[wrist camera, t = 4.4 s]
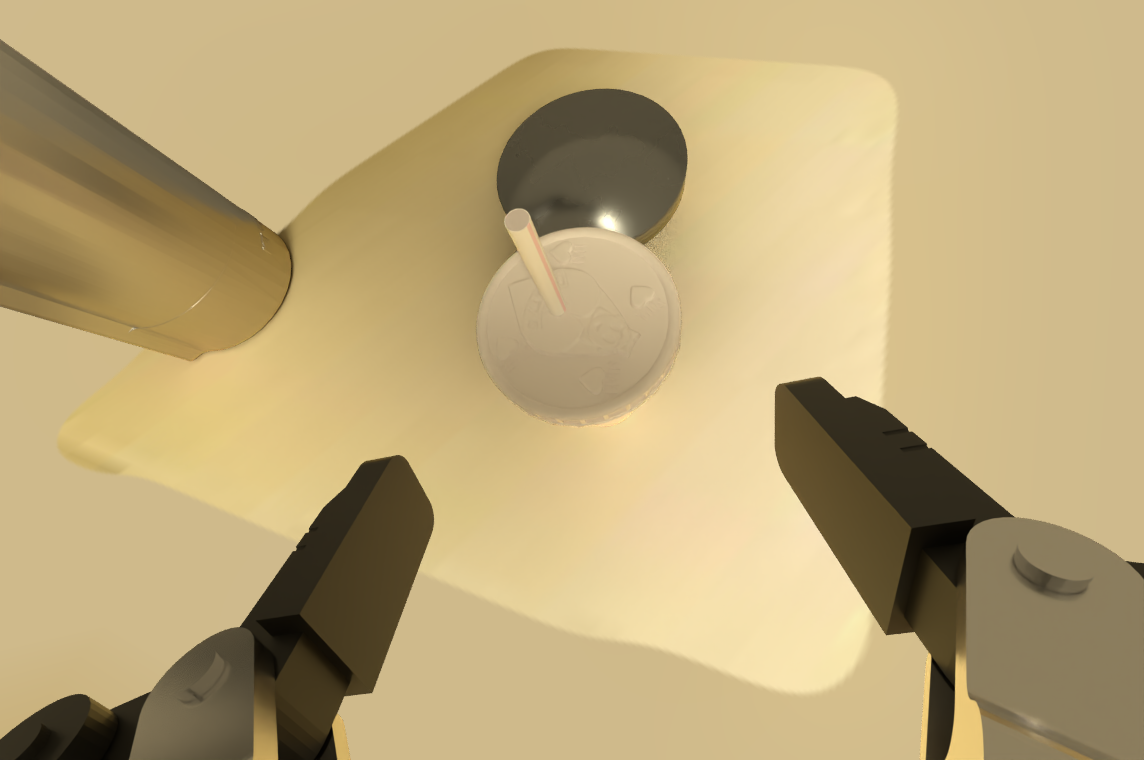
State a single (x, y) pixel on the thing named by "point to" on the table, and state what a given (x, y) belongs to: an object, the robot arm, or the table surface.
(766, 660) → the table surface
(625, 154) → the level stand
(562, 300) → the smoothie
